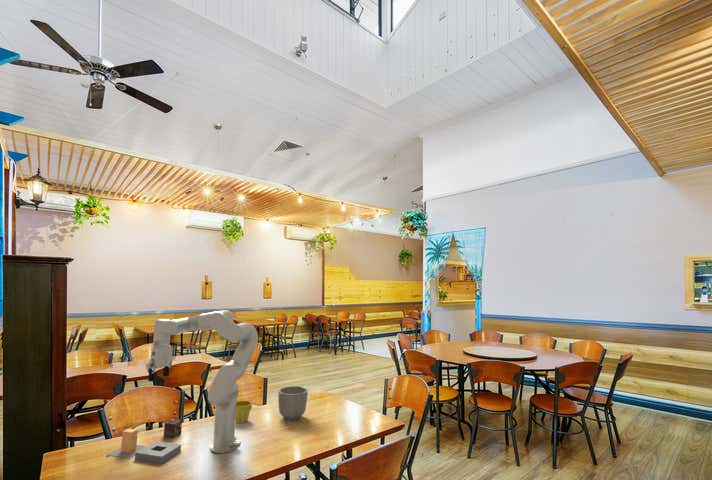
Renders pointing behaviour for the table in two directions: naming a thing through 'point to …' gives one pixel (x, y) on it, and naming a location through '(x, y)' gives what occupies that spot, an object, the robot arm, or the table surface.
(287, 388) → the planter
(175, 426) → the box
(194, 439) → the table surface
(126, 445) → the plug
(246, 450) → the table surface
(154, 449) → the socket block
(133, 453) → the mat
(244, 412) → the plant pot
